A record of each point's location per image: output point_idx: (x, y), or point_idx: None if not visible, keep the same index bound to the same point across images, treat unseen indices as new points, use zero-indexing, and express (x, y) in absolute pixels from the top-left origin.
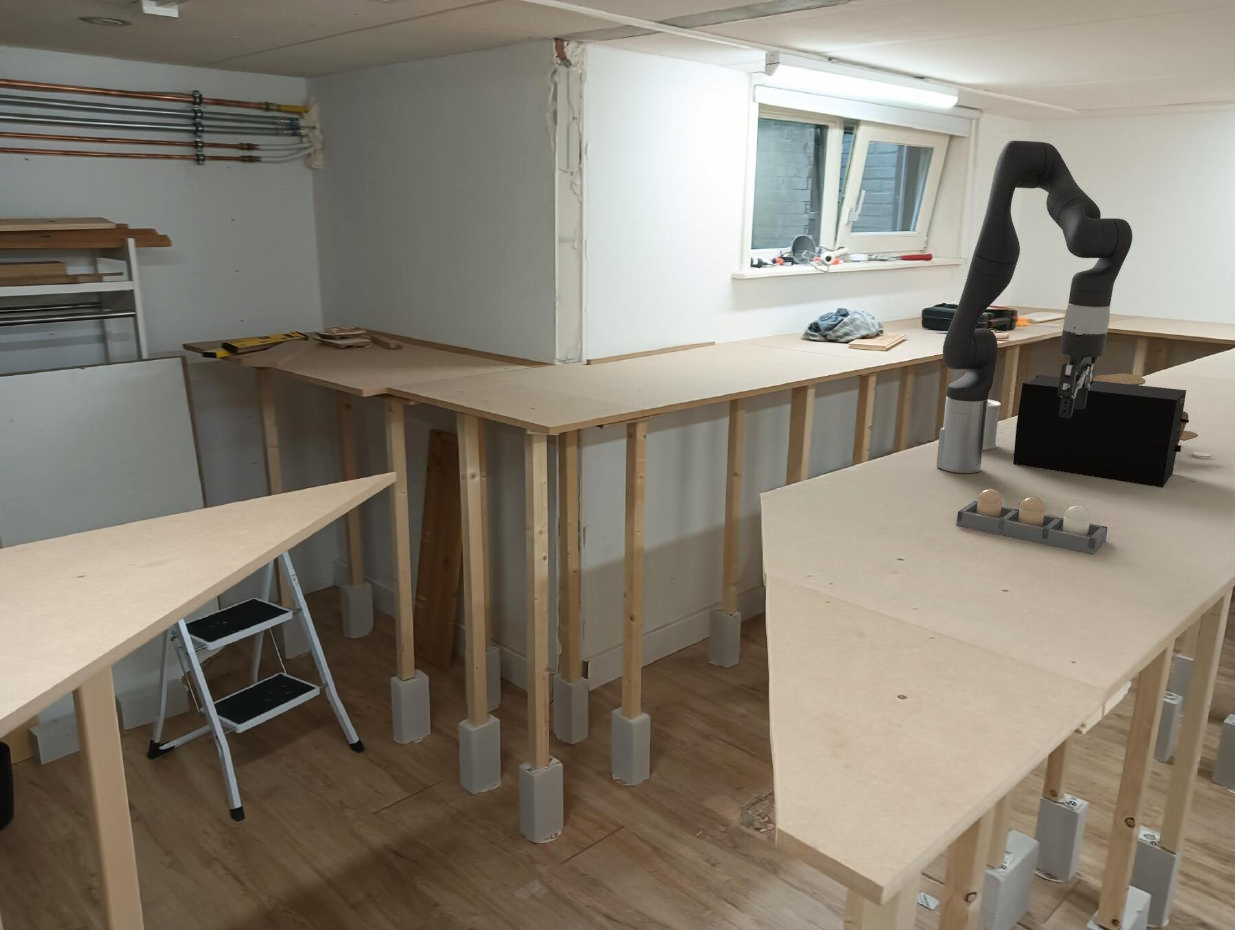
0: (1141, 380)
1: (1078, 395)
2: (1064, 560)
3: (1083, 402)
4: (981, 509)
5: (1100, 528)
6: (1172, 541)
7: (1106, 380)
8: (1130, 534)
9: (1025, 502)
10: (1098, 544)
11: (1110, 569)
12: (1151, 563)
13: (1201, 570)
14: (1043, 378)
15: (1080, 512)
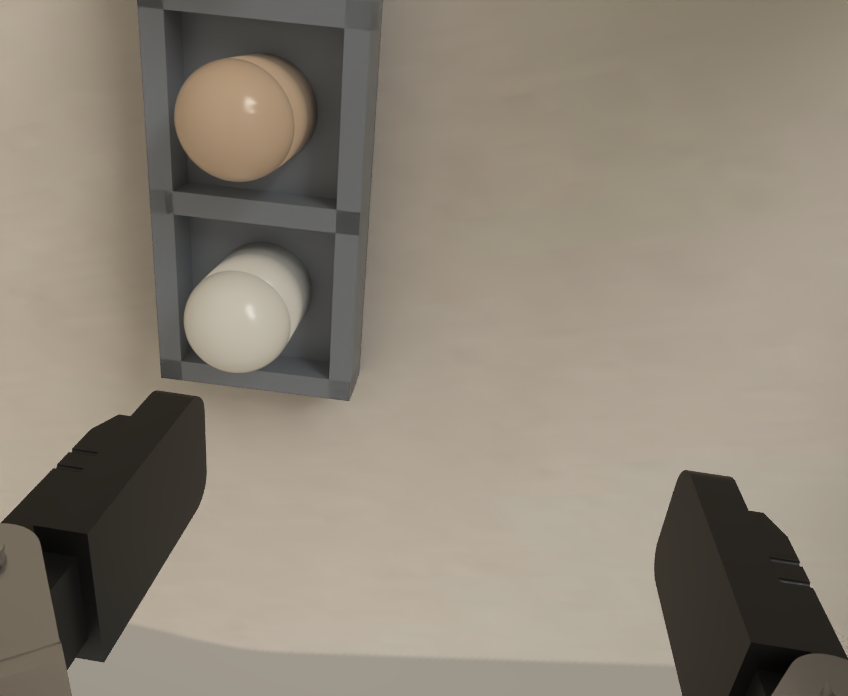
0: None
1: (709, 625)
2: (56, 280)
3: (671, 615)
4: None
5: (310, 380)
6: (489, 546)
7: None
8: (491, 437)
9: (183, 94)
10: None
11: (83, 411)
12: (225, 503)
13: (259, 607)
14: None
15: (191, 346)
